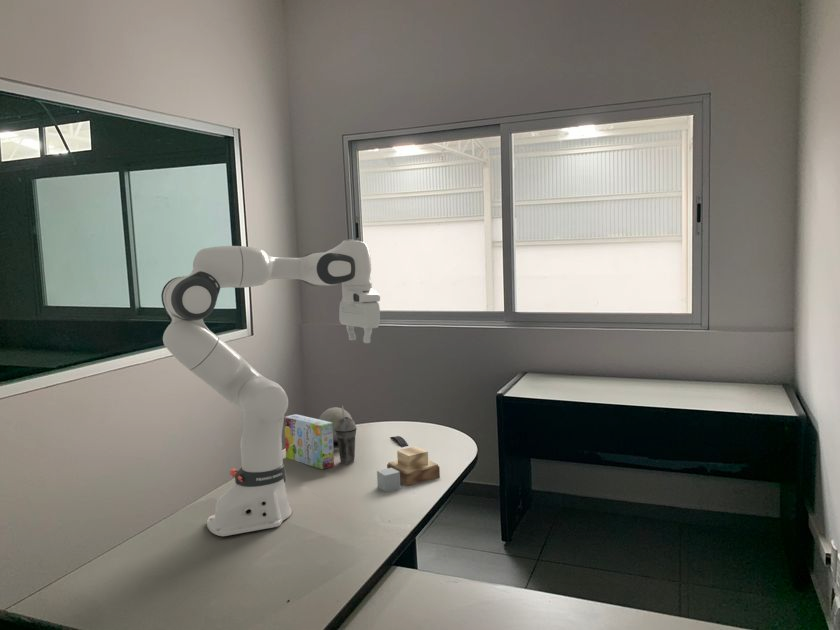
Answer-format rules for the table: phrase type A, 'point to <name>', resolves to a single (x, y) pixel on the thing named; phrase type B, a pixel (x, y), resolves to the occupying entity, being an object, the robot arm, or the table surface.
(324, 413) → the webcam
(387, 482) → the grey cube
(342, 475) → the table surface
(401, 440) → the black long flat piece
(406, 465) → the oak block
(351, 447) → the beverage cup
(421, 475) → the plinth
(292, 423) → the snack box
